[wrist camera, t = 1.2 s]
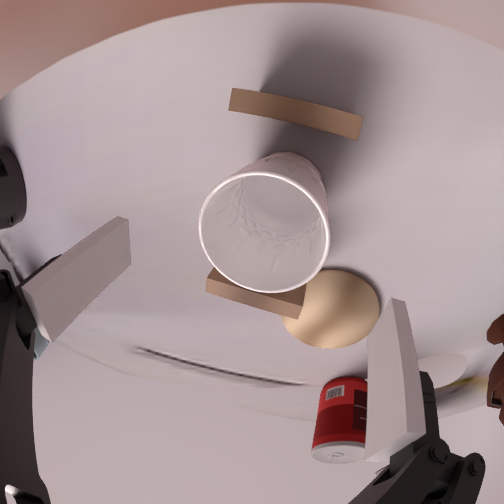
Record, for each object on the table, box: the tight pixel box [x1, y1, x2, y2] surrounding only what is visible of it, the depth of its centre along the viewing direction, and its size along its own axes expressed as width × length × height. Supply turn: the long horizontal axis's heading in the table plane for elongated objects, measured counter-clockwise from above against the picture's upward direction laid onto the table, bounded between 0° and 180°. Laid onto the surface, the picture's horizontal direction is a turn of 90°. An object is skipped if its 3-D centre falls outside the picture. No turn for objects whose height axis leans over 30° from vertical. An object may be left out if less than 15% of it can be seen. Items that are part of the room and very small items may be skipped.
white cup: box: [198, 152, 330, 293], centre depth 21 cm, size 8×8×10 cm
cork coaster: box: [281, 270, 379, 348], centre depth 30 cm, size 11×11×1 cm
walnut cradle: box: [206, 88, 363, 320], centre depth 22 cm, size 8×16×7 cm, turn 170°
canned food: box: [311, 377, 368, 464], centre depth 32 cm, size 8×8×11 cm
